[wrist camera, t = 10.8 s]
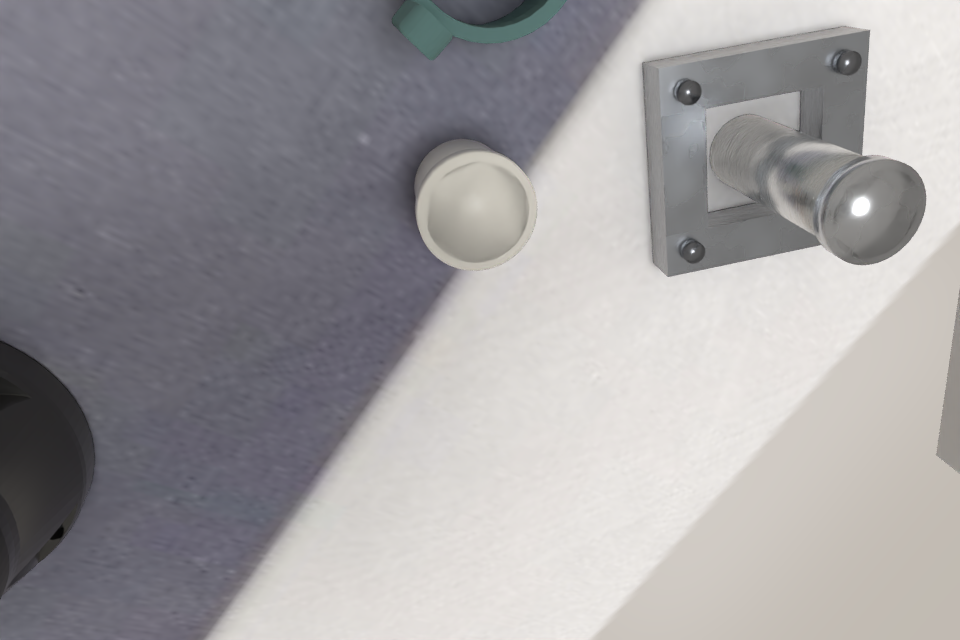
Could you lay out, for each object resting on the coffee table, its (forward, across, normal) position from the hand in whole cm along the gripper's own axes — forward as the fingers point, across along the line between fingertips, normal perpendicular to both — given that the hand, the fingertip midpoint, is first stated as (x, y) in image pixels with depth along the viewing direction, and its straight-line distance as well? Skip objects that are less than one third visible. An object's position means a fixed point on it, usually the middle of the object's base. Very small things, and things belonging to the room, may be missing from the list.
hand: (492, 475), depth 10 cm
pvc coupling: (+33, +5, -6) cm, 34 cm away
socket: (+33, +21, -7) cm, 40 cm away
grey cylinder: (+33, +21, -7) cm, 40 cm away
